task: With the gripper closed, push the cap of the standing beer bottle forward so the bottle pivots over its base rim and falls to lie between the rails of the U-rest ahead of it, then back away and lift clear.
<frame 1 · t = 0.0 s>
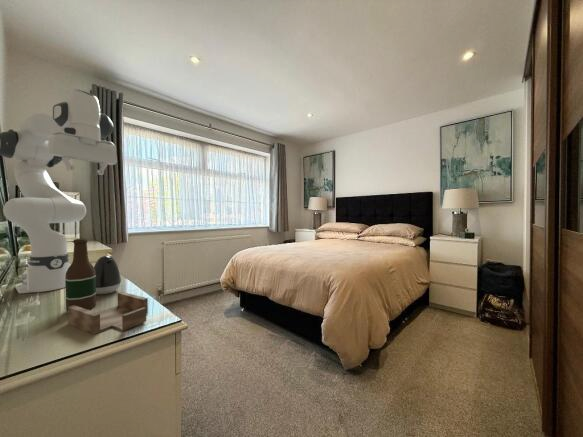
hand: (86, 172, 90), 48 cm above the table, fingers open, 8 cm apart
beer bottle: (81, 309, 82), on the table
u rest: (109, 318, 74), on the table
dark grey oval piece: (106, 293, 98), on the table
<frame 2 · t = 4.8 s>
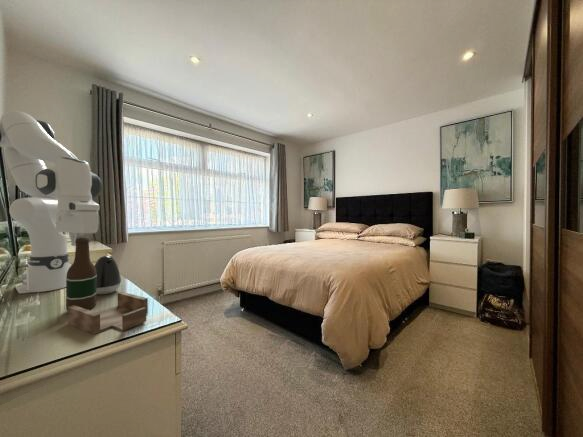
hand: (76, 245, 82), 21 cm above the table, fingers closed
beer bottle: (81, 308, 82), on the table, touching gripper
everything else where it was.
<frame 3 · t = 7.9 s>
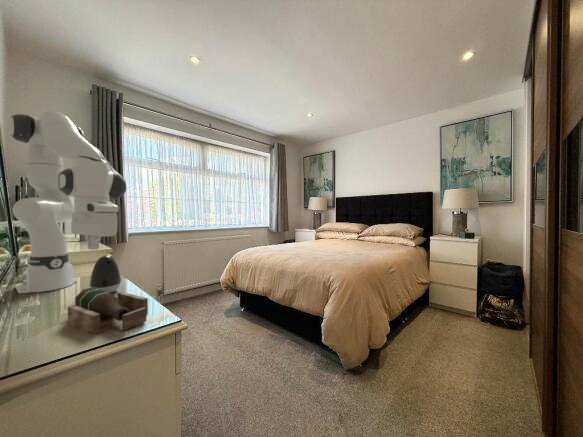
hand: (93, 249, 78), 21 cm above the table, fingers closed
beer bottle: (88, 298, 80), point 4 cm above the table, touching u rest
everything else where it was.
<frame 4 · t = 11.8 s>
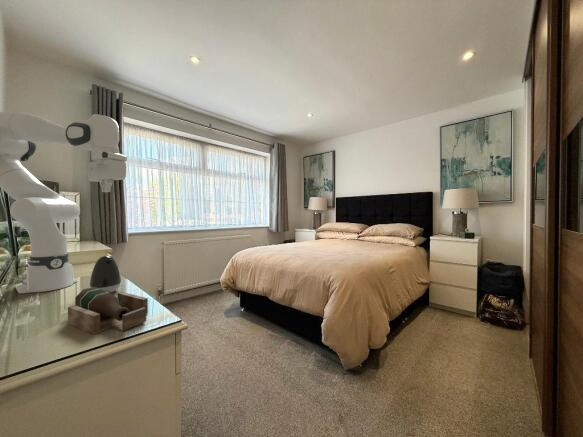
hand: (106, 192, 95), 41 cm above the table, fingers closed
nothing on the table moved.
at the end: beer bottle tilted 90°; beer bottle touching u rest; beer bottle inside the target area (9.1 cm from its centre), point 4.2 cm above the table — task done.
